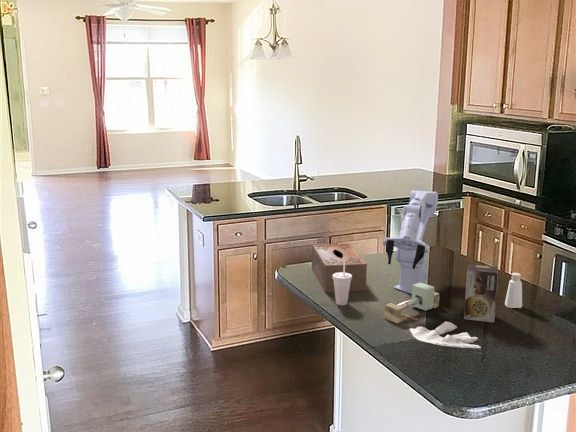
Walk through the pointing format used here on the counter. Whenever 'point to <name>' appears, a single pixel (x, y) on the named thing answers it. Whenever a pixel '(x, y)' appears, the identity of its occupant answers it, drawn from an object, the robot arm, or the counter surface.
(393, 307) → the pipe supports
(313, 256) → the tissue box cover
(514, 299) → the pepper shaker
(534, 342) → the counter surface
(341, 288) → the smoothie
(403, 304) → the pipe
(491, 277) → the printed cardboard box
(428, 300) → the collar
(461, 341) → the cloth
